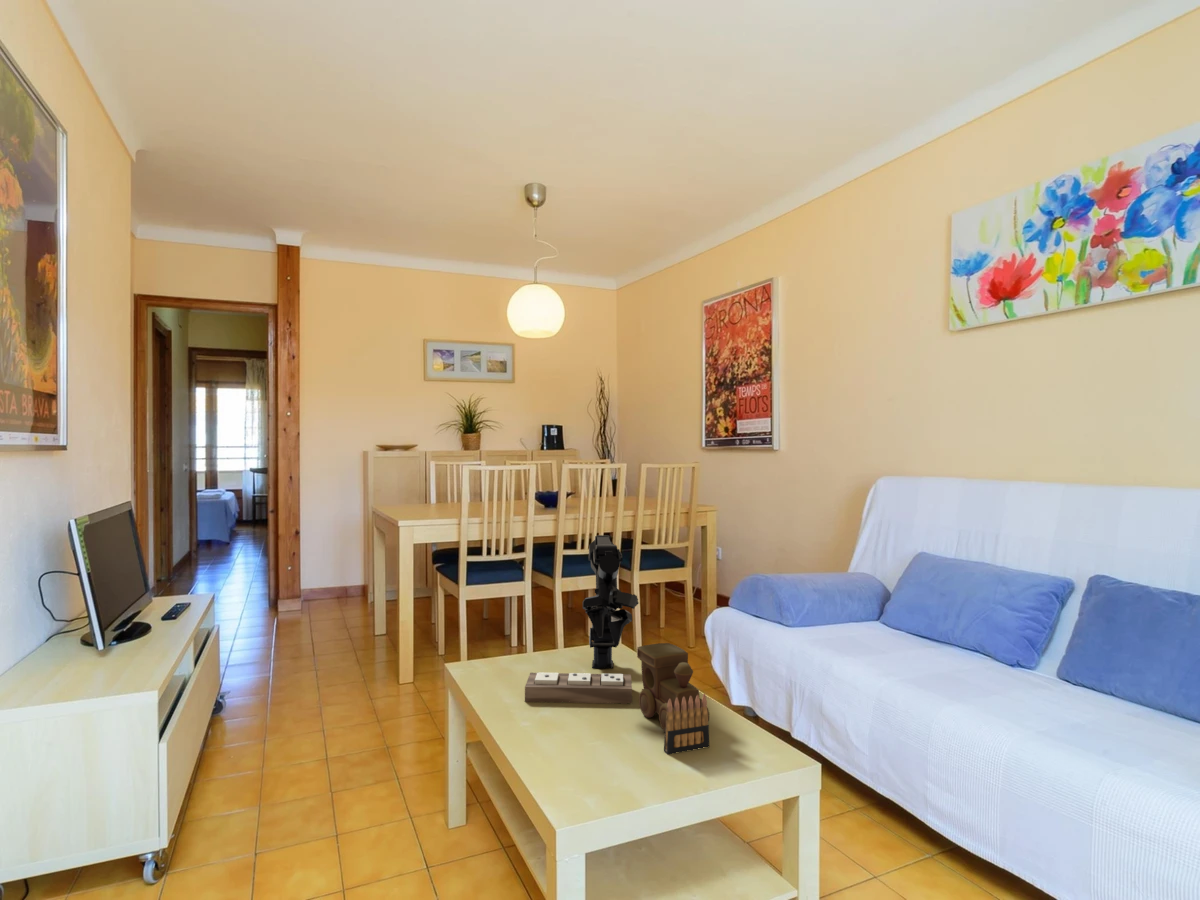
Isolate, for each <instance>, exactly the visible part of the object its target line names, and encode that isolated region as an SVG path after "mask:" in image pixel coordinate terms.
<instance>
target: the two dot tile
mask: <svg viewBox="0 0 1200 900" xmlns="http://www.w3.org/2000/svg"><path fill="white" fill-rule="evenodd" d="M568 673H569V677H568V685H591V674H592V673H591V672H588V673H587V672H585V673H584V672H568Z"/></svg>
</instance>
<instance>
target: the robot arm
mask: <svg viewBox="0 0 1200 900" xmlns="http://www.w3.org/2000/svg"><path fill="white" fill-rule="evenodd" d="M611 539H612V538H611V535H608V534H607V535H606V534H605V535H603V534H602V535H595V536H594V540H592V542H591V543H589V546H588V561H590V568H591V570H592V571H593V572H594V574H595V589H594V594H595V595H593V596H588V597H585V598H584V599H583V601H582V609H583V610H584V612H585V614H586V615H587V616H588V617H587V618H588V619H589V621H590V622H591V627H590V628H589V636H588V638H589V641H588V642H589V643H588V644H589V648H590V649H591V648H593V660H592V664H591V668H592V669H613V668H614V660H613V648H618V647H619V644H620V641H621V638H622V634H623V631H624V628H625V627H626V626H627V625H628V624H630V622H631V623H632V621H633V615H632V613H631V612H630V611H628V610H626V609H625V608H623V607H626V608H631V609H633V610H634V609H635V607H637V606H638V605H639V598H638V595H636V594H632V593H629V592H623V591H621V590H620V589H619V588H618V574H619V570H620V565H621V563H623V555H622V552H621V551H620V549H619V548H618V545H616V544H614V543H613V542H612V541H611Z"/></svg>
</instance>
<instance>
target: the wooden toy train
mask: <svg viewBox="0 0 1200 900" xmlns="http://www.w3.org/2000/svg"><path fill="white" fill-rule="evenodd" d="M636 650H637V651H636V655H637V656H636V657H637V658H638V659H639V660H640V661H641V666H640V667H641V679H642V681H641V682H642V686H643V688H641V691H640V693H639V695H638V705H639V709H640V711H641V713H642V715H643V716H644V717H646V718H649V719H650V718H653V717H654V716H655V715H656V714H658V720H659V724H660V728H661V729H662V731H663V732H665V728H666V716H667V705H668V700H669V699H671V702H672V712H673V715H674V705H675V700H676V698H678V701H679V710H680V714H681V704H682V699H683V697H685V699H686V706H687V713H688V702H689V698H690V696H692V699H693V708H694V711H695V700H696V696H697V695H698V696H699V699H700V711H701V706H702V698H700V691H699V689H698V688H697V687H696V686H694V685H693V684H691V683H690V681H691V679H692V677H693V674H694V670H693V668H692V667H691V665H690V663H689V653H688V652H687V651H686V650H685V649H683V648H681V647H679V646H678V645H675V644H672V643H670V642H665V643H663V642H661V643H651V644H646V645H642V646H637V649H636ZM709 711H710V710H709V707H708V706H707V712H708V723H709V721H710V712H709Z"/></svg>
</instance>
